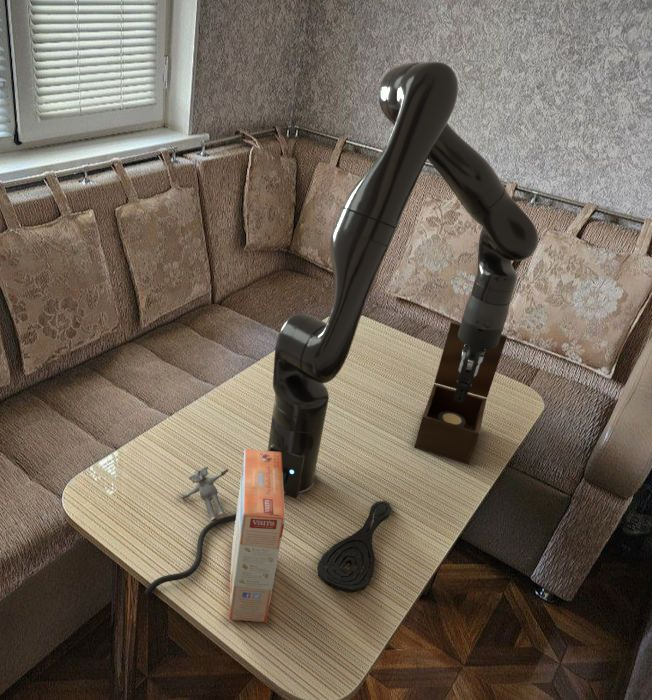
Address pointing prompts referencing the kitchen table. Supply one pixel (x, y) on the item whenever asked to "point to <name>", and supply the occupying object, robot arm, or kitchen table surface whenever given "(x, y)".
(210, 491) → the elephant figurine
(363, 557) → the hairbrush
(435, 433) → the box
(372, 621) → the kitchen table surface
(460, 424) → the dark grey short cylinder
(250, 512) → the cracker box
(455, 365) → the lid
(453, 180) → the robot arm
